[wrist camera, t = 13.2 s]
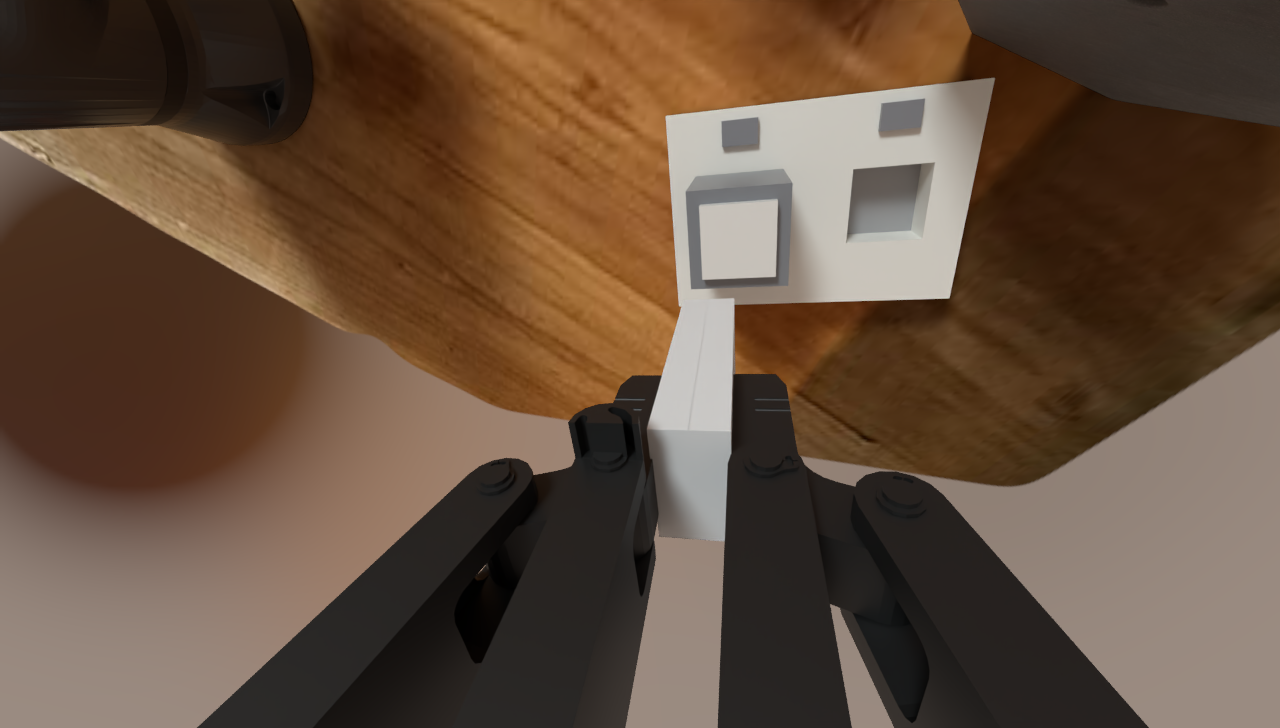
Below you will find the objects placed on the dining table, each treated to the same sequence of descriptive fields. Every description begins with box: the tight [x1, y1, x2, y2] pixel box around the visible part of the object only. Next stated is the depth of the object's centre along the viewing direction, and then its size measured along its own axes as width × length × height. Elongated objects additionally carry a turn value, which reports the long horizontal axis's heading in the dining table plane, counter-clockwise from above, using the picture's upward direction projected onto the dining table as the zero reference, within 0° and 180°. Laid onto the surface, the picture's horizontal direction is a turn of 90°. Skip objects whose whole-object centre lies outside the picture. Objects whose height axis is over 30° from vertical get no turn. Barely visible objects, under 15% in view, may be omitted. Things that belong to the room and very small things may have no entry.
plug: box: [686, 169, 793, 289], centre depth 33 cm, size 6×6×11 cm
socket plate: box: [666, 78, 995, 306], centre depth 35 cm, size 20×14×3 cm
